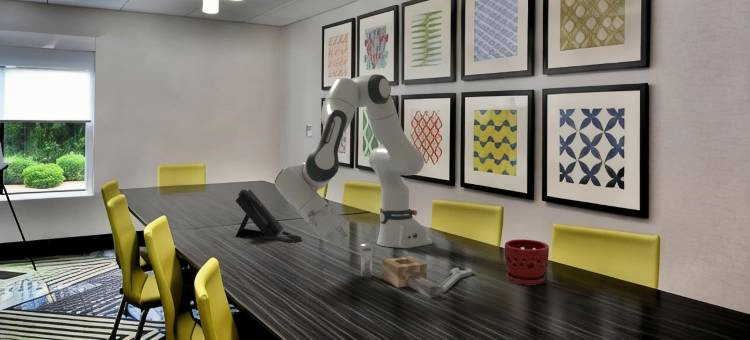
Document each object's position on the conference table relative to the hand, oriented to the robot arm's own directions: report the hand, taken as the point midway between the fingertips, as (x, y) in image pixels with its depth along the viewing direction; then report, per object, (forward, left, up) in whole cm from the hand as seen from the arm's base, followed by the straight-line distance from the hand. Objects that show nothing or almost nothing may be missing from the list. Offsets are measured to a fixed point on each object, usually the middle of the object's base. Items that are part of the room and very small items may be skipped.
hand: (344, 240), depth 171 cm
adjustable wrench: (-27, +20, -11) cm, 36 cm away
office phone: (+4, -68, -11) cm, 69 cm away
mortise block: (-14, +20, -11) cm, 27 cm away
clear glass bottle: (-6, +4, -11) cm, 13 cm away
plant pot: (-48, +30, -11) cm, 58 cm away
